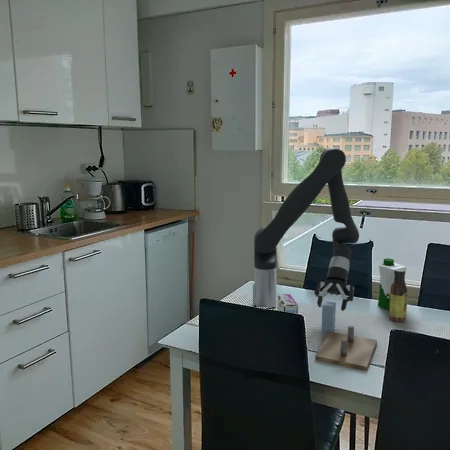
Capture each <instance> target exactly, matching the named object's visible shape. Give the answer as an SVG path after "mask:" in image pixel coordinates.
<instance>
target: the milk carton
mask: <svg viewBox="0 0 450 450" xmlns="http://www.w3.org/2000/svg"><path fill="white" fill-rule="evenodd" d="M378 268H379V294H378V299H377V300H378V302H377V306H378V307H380V308H382V309H384V310H387V311H389V307H390V292H391V285H392V284H393V282H394V275H395V274H394V270H395V269H403V270H405V272H406V271H407V266H405V265H402V264H399V263H395V260H394V259H393V258H384V259H383V263H380V264H378Z"/></svg>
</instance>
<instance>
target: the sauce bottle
mask: <svg viewBox="0 0 450 450" xmlns="http://www.w3.org/2000/svg"><path fill="white" fill-rule="evenodd" d="M394 274H395V275H394V282H393V284H392V285H391V292H390V307H389V310H388V311H389V312H388V316H389V319H390V320H391V321H393V322H398V323H399V322H400V323H402V322H405V321H406V320H407V319H406V318H407V313H408V312H407V308H408V293H409V291H408V287H407V283H406V281H405V280H406V278H405V276H406V271H405V270H403V269H395V270H394Z"/></svg>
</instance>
